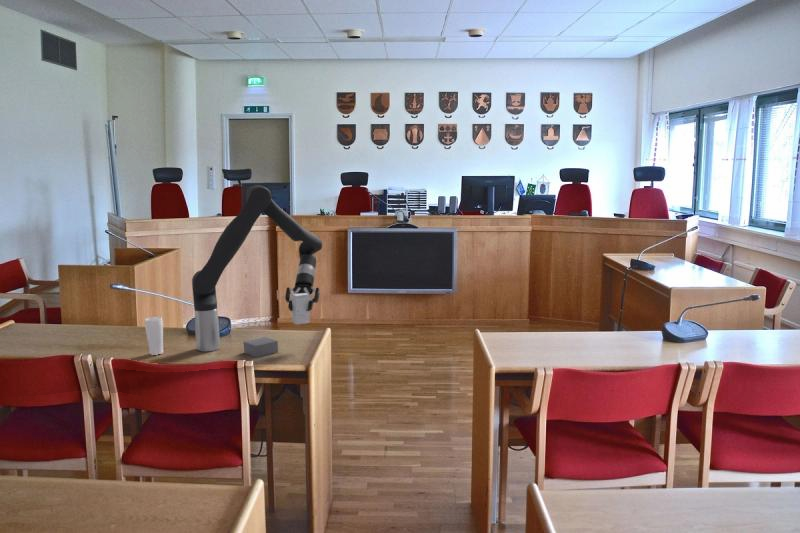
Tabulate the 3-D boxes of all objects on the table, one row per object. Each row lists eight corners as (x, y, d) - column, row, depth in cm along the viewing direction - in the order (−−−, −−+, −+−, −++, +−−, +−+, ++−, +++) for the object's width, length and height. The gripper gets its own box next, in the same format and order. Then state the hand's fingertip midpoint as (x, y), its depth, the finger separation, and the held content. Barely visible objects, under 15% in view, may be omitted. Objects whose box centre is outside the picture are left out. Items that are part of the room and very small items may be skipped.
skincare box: (296, 325, 266) (295, 295, 264) (292, 322, 270) (290, 294, 268) (310, 322, 269) (309, 294, 267) (305, 320, 273) (304, 292, 271)
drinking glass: (148, 357, 265) (145, 321, 263) (146, 353, 271) (143, 318, 269) (166, 354, 268) (163, 319, 266) (164, 350, 274) (161, 316, 272)
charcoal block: (244, 353, 268) (243, 341, 268) (265, 348, 275) (264, 336, 274) (256, 358, 261) (255, 346, 260) (278, 352, 268) (277, 341, 267)
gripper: (286, 272, 274) (280, 305, 265) (320, 272, 273) (315, 305, 263) (290, 282, 281) (284, 314, 271) (323, 282, 279) (318, 315, 270)
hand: (299, 310), depth 267 cm, fingers closed on skincare box, 7 cm apart
